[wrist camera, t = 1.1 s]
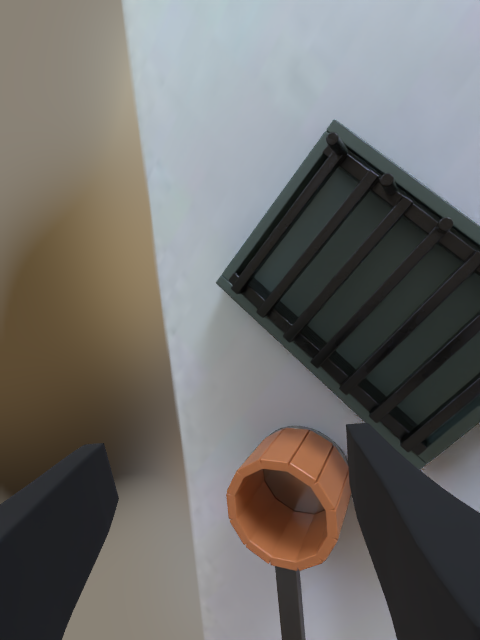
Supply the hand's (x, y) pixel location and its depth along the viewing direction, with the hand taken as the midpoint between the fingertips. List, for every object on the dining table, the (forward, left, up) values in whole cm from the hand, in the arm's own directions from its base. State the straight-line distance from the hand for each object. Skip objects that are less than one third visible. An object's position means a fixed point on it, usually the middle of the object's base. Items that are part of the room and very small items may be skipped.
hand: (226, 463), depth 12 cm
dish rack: (+4, -3, -12) cm, 13 cm away
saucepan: (-9, +1, -12) cm, 15 cm away
